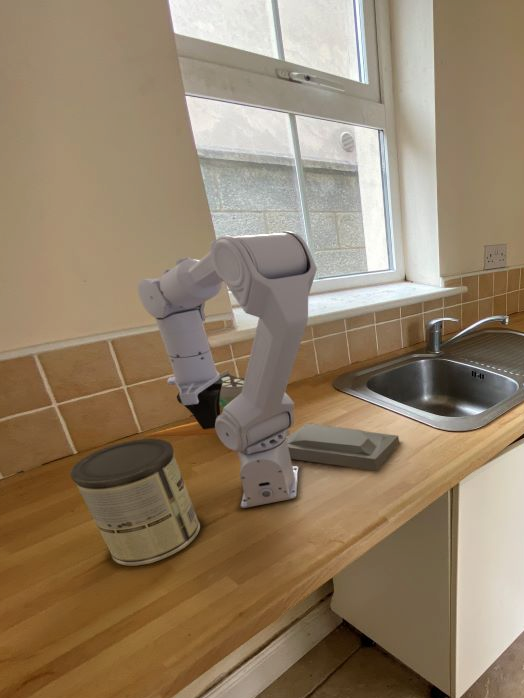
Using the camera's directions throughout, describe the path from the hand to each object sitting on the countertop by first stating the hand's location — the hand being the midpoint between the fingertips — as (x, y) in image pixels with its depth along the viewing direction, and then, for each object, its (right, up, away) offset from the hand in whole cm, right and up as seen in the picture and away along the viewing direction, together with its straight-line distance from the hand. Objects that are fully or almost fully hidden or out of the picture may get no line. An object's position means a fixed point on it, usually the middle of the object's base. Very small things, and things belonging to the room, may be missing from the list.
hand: (211, 424), depth 79 cm
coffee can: (+2, -16, -14) cm, 21 cm away
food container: (-6, -1, +17) cm, 18 cm away
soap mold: (+19, -6, +10) cm, 22 cm away
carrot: (0, -1, +1) cm, 2 cm away
